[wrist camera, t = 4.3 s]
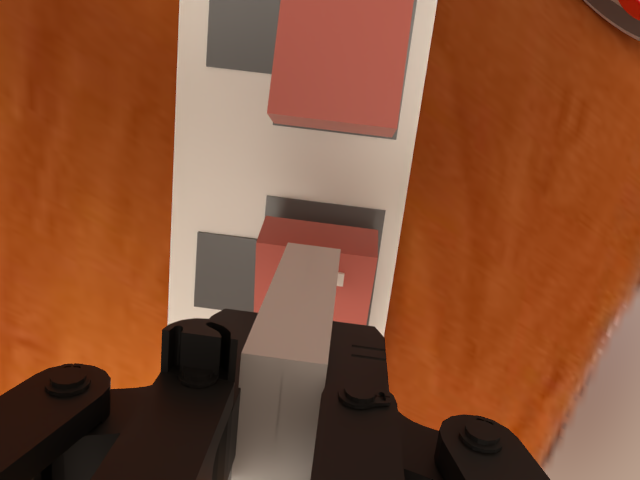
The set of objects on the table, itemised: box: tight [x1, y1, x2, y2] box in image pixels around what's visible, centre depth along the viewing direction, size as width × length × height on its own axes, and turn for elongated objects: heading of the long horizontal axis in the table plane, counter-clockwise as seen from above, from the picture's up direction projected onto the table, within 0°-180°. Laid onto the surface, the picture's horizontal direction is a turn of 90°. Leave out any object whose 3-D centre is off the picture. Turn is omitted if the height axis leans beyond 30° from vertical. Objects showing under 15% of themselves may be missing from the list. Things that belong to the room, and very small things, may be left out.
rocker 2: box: [254, 216, 378, 325], centre depth 21 cm, size 6×4×2 cm, turn 172°
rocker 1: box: [267, 0, 414, 138], centre depth 18 cm, size 6×4×2 cm, turn 175°
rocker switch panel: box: [168, 0, 438, 480], centre depth 25 cm, size 28×9×5 cm, turn 174°
